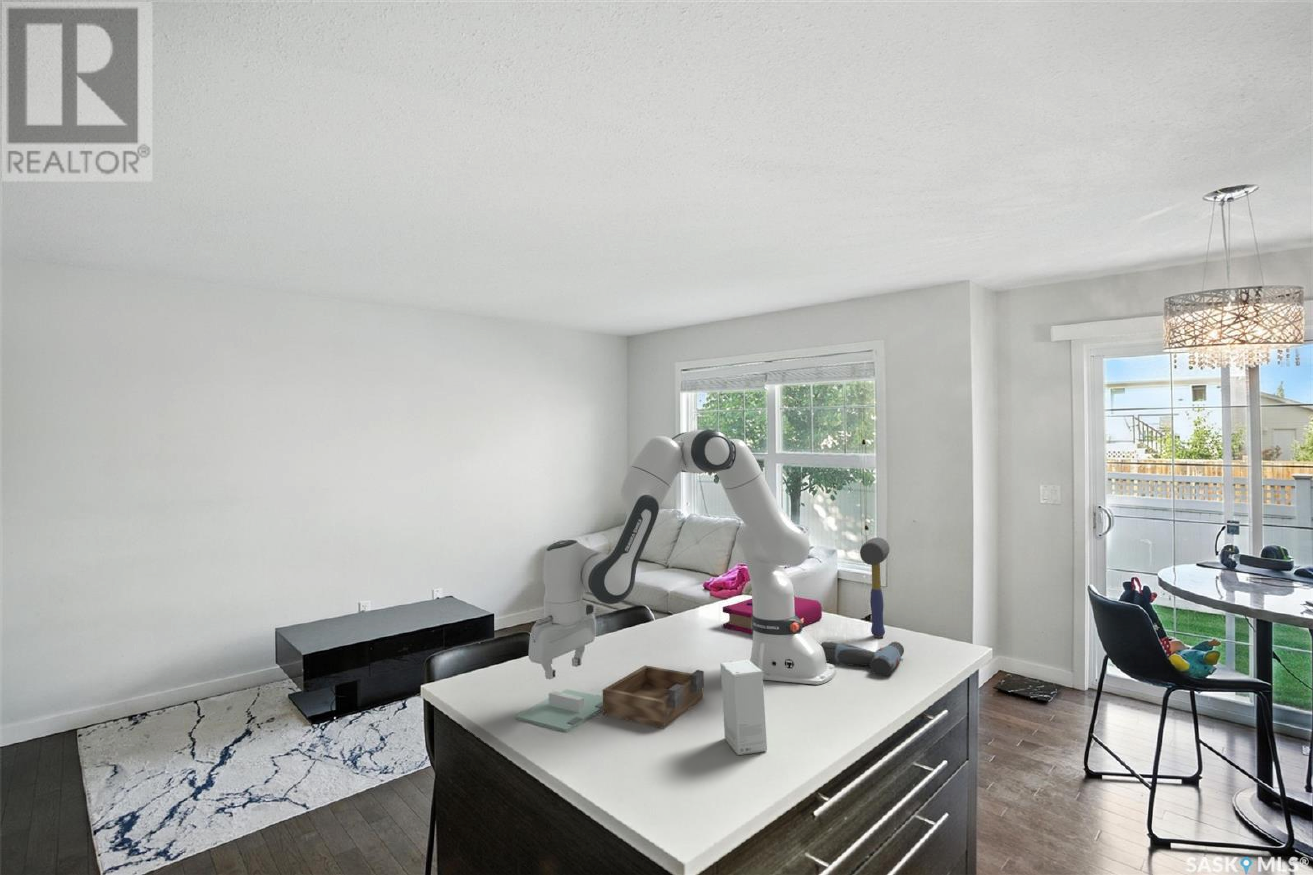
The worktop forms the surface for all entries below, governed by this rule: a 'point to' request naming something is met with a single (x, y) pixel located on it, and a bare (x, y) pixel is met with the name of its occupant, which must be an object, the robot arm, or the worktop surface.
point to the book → (744, 611)
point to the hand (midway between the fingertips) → (563, 671)
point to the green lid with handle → (563, 710)
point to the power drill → (865, 656)
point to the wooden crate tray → (653, 695)
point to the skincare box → (743, 707)
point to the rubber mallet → (876, 580)
